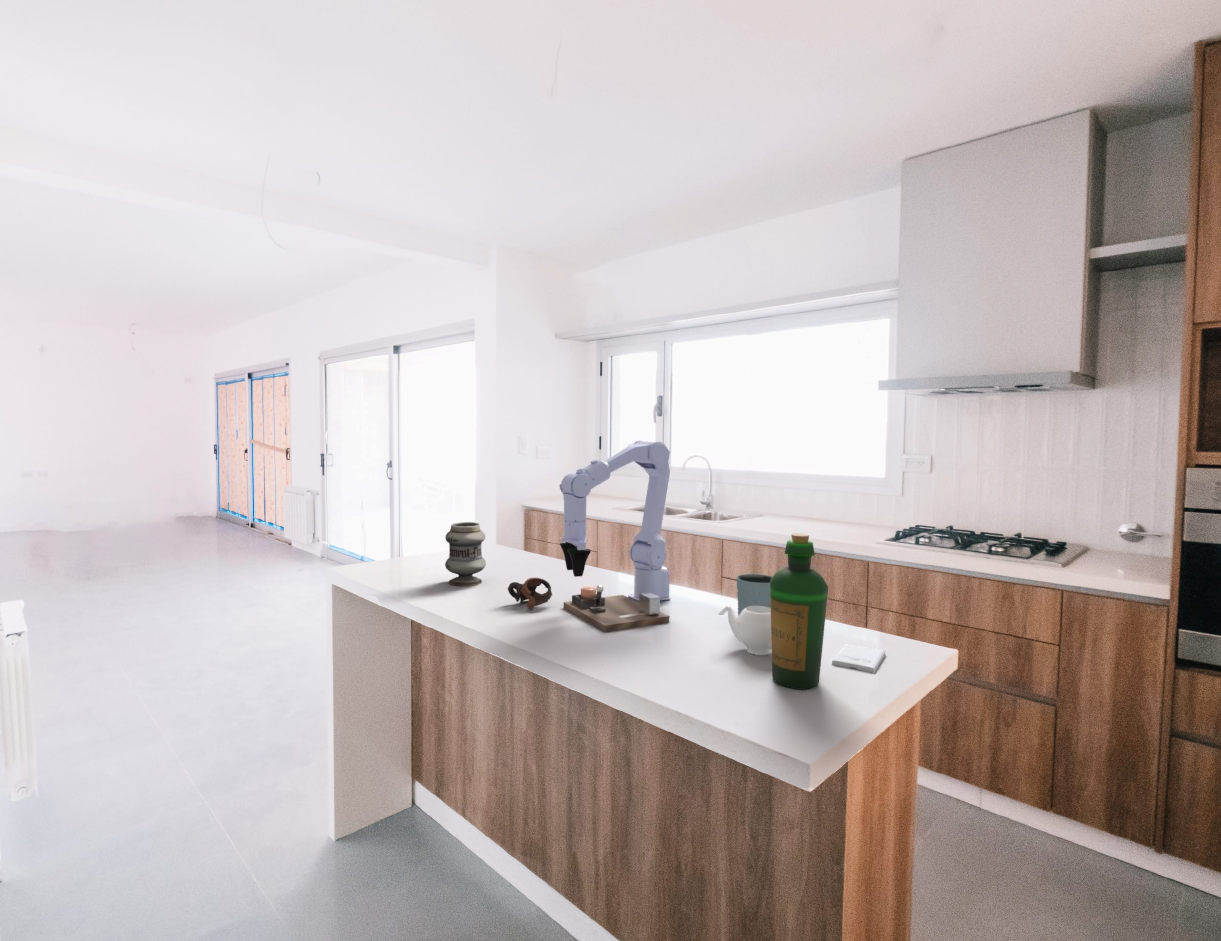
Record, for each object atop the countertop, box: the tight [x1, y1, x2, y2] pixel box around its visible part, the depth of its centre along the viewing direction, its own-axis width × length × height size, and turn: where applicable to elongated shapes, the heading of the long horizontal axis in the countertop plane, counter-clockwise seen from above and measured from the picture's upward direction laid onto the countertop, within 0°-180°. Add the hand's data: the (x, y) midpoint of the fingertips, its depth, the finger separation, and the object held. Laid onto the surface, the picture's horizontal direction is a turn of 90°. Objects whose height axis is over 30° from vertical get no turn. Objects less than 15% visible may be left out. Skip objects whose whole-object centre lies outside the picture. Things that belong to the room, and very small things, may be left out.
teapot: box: [718, 605, 772, 656], centre depth 140 cm, size 10×20×9 cm, turn 49°
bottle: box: [770, 533, 829, 690], centre depth 123 cm, size 11×11×28 cm
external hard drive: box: [831, 643, 886, 674], centre depth 136 cm, size 2×8×12 cm
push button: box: [580, 586, 597, 600], centre depth 170 cm, size 4×4×2 cm
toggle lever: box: [593, 585, 604, 607], centre depth 163 cm, size 2×2×6 cm
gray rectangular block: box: [638, 592, 661, 615], centre depth 163 cm, size 3×5×4 cm, turn 29°
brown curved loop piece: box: [507, 577, 553, 610], centre depth 174 cm, size 12×10×8 cm
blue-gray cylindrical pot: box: [736, 573, 773, 617], centre depth 157 cm, size 10×10×12 cm
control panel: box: [563, 593, 670, 633], centre depth 166 cm, size 18×23×4 cm
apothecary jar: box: [444, 521, 487, 587], centre depth 198 cm, size 12×12×18 cm
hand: (574, 572), depth 168 cm, fingers open, 7 cm apart
